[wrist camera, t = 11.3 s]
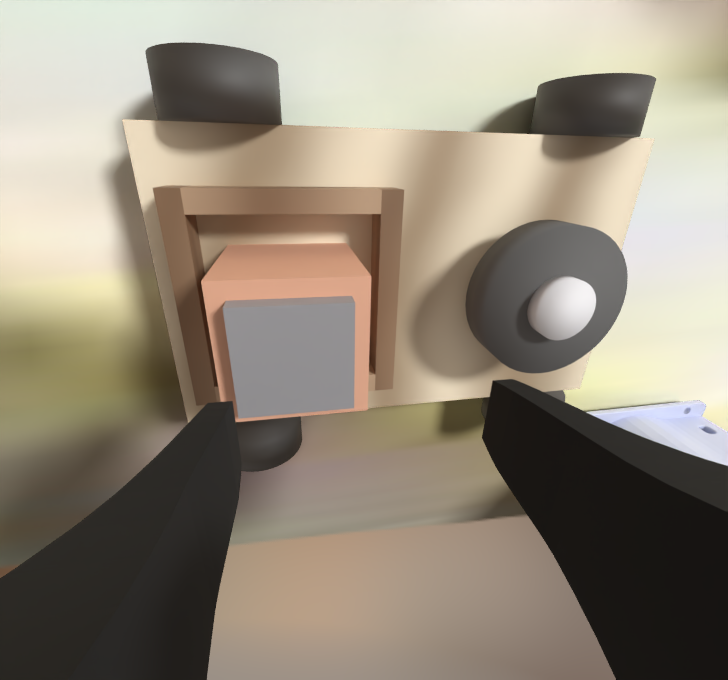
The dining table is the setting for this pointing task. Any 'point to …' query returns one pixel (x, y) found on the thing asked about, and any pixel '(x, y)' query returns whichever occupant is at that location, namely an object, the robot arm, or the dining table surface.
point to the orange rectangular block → (289, 329)
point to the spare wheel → (546, 294)
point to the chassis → (369, 214)
